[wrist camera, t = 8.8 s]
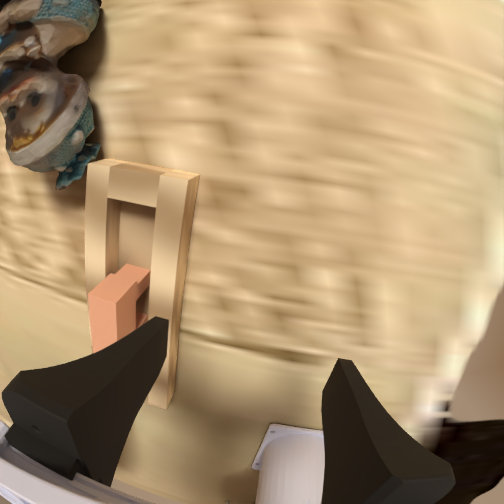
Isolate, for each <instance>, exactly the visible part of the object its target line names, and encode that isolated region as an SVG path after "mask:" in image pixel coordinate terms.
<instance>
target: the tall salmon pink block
mask: <svg viewBox="0 0 504 504" xmlns="http://www.w3.org/2000/svg"><path fill="white" fill-rule="evenodd" d="M150 272H151V270H148V269H145V268H141V267H137V266H133V265H130V264H125V265H124V266H123V267H122V268H121V269H120V270H119V271H118V272H117V273H116V274H112V273H110V274H109V275H108V276H107V277H106V278H105V279H103V280H102V281H101V282H100V283H99V284H98V285H97V286H96V287H95V288H94V289H93V290H92V291H90V292H89V293H88V303H89V315H90V326H91V336H92V345H93V353H96V352H98V351H100V350H102V349H104V348H106V347H108V346H109V345H111V344H113V343H115V342H116V341H118V340H120V339H122V338H123V337H125V336H126V335H128V334H129V333H131V332H133V331H134V330H136V329H137V328H139V327H140V326H141V325H143V324H144V323H146V322H147V321H148V315H147V314H144V313H140V312H137V311H136V300H137V299H138V298H139V297H140V295H141V294H142V293H143V292H144V291H145V289H146V288H147V287H148V286H149V285H150Z"/></svg>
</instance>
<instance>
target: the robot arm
mask: <svg viewBox="0 0 504 504" xmlns="http://www.w3.org/2000/svg"><path fill="white" fill-rule="evenodd" d="M168 329H169V320H168V319H164V318H161V317H157V316H155V317H153V318H152V319H150V320H149V321H147V322H146V323H144V324H143V325H141V326H140V327H139V328H137V329H136V330H134V331H133V332H131V333H129V334H128V335H126V336H125V337H123V338H122V339H120V340H118V341H116V342H115V343H113V344H111V345H109V346H108V347H106V348H104V349H102V350H100V351H98V352H96V353H93V354H91V355H89V356H86V357H83V358H80V359H77V360H74V361H71V362H68V363H65V364H61V365H57V366H53V367H48V368H42V369H34V370H26V371H20V372H19V373H18V374H17V375H16V376H15V378H14V379H13V380H12V381H11V382H10V383H9V384H8V386H7V387H6V388H5V389H4V390H3V392H2V400H3V402H4V405H5V407H6V409H7V411H8V413H9V415H10V417H11V419H12V421H13V423H14V424H13V425H12V426H11V428H9V427H8V426H7V425H6V424H5V423H4V422H3V421H1V420H0V495H1V496H3V497H4V498H5V499H7V500H8V501H10V502H11V503H12V504H154V503H151V502H148V501H145V500H142V499H139V498H137V497H134V496H131V495H128V494H125V493H123V492H121V491H118V490H115V489H113V488H111V484H112V480H113V477H114V474H115V470H116V467H117V464H118V462H119V459H120V456H121V453H122V450H123V447H124V445H125V442H126V439H127V437H128V434H129V432H130V429H131V427H132V424H133V422H134V420H135V418H136V416H137V414H138V412H139V410H140V408H141V406H142V404H143V403H144V401H145V399H146V397H147V396H148V394H149V392H150V390H151V389H152V387H153V385H154V383H155V381H156V380H157V378H158V376H159V374H160V372H161V369H162V367H163V364H164V362H165V359H166V357H167V344H168ZM322 425H323V431H321V430H314V429H306V428H299V427H293V426H286V425H280V424H270V425H269V427H268V430H267V432H266V434H265V437H264V439H263V441H262V444H261V446H260V448H259V450H258V452H257V455H256V457H255V459H254V461H253V464H252V469H254V470H260V473H259V480H258V487H257V495H256V502H255V504H434V503H436V502H437V501H438V500H439V499H441V498H442V497H443V496H445V495H446V494H447V493H448V492H449V491H450V490H451V489H452V488H453V486H454V485H455V478H454V474H453V471H452V467H451V464H450V463H448V462H446V461H445V460H443V459H441V458H440V457H438V456H436V455H435V454H433V453H432V452H430V451H429V450H427V449H426V448H425V447H423V446H422V445H421V444H419V443H418V442H417V441H416V440H414V439H413V438H412V437H411V436H410V435H409V434H408V433H407V432H405V431H404V430H403V429H402V428H401V427H400V426H399V425H398V424H397V422H396V421H395V420H394V419H393V418H392V417H391V416H390V415H389V414H388V412H387V411H386V410H385V409H384V407H383V406H382V405H381V403H380V402H379V401H378V399H377V398H376V397H375V395H374V394H373V392H372V391H371V389H370V388H369V386H368V385H367V383H366V382H365V380H364V379H363V377H362V376H361V374H360V372H359V371H358V369H357V368H356V366H355V365H354V363H353V362H352V360H346V359H340V358H338V360H337V362H336V364H335V366H334V368H333V371H332V373H331V375H330V377H329V379H328V381H327V383H326V385H325V387H324V389H323V392H322Z"/></svg>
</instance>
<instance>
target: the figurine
mask: <svg viewBox="0 0 504 504" xmlns="http://www.w3.org/2000/svg"><path fill="white" fill-rule="evenodd" d="M101 3H102V1H101V0H0V111H1V112H2V115H3V117H4V119H5V124H6V134H5V138H6V150H7V152H8V154H9V157H10V160H11V161H12V162H13V164H15V165H18V166H23V167H26V168H29V169H30V170H32V171H34V172H48V171H52V170H57V171H59V176H58V178H57V182H56V188H57V189H59V190H61V189H65V188H66V186H69V185H70V184H71V183H72V182H73V181H75V180H79V179H80V178H81V177H82V175H83V174H84V171H85V168H86V166H87V164H88V162H89V161H91V160H94V159H96V157H97V153H98V151H99V149H100V144H99V143H90V144H86V143H85V140H86V138H87V137H88V136H89V135H90V133H91V132H92V131H93V129H94V128H95V126H94V122H93V109H92V105H91V103H90V101H89V98H88V94H89V91H90V89H89V86H88V83H87V82H85V81H84V80H83V78H82V77H81V76H80V75H77V74H65V73H64V72H62V71H61V70H60V69H59V68H58V66H57V63H58V60H59V59H60V57H62V56H63V55H64V54H65V53H66V52H67V51H69V50H70V49H72V48H73V47H75V46H76V45H79V44H81V43H83V42H85V41H86V40H87V39H88V38H89V36H90V33H91V32H92V31H93V30H94V28H95V27H96V25H97V22H98V17H99V9H100V6H101Z"/></svg>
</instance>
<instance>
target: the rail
mask: <svg viewBox="0 0 504 504" xmlns="http://www.w3.org/2000/svg"><path fill="white" fill-rule="evenodd" d="M199 176H200V174H196V173H191V172H186V171H180V170H175V169H169V168H163V167H157V166H152V165H146V164H139V163H133V162H127V161H120V160H114V159H103V160H99V161H95V162H91V163H88V167H87V182H86V202H85V270H86V290H87V305H88V317H89V327H90V336H91V326H90V315H89V303H88V293H89V292H90V291H92V290H93V289H94V288H95V287H96V286H97V285H98V284H99V283H100V282H101V281H102V280H103V279H105V278H106V277H107V276H108V275H109V274H110V273H112V274H116V273H117V272H118V271H119V270H120V269H121V268H122V267H123V266H124V265H125V264H130V265H133V266H137V267H141V268H145V269H148V270H151V272H150V285H149V286H148V287H147V288H146V289H145V291H144V292H143V293H142V294H141V295H140V297H139V298H138V299H137V300H136V311H137V312H140V313H144V314H147V315H148V321H149V320H150V319H152V318H153V317H155V316H157V317H161V318H164V319H168V320H169V329H168V344H167V357H166V359H165V362H164V364H163V367H162V369H161V372H160V374H159V376H158V378H157V380H156V381H155V383H154V385H153V387H152V389H151V390H150V392H149V394H148V396H147V397H146V399H145V401H144V403H146V404H149V405H152V406H155V407H159V408H162V409H165V410H167V408H168V406H169V403H170V401H171V399H172V396H173V394H174V391H175V377H176V364H177V352H178V340H179V329H180V319H181V309H182V300H183V291H184V282H185V274H186V266H187V258H188V250H189V243H190V235H191V228H192V221H193V214H194V207H195V201H196V194H197V188H198V182H199ZM91 345H92V336H91ZM92 352H93V345H92Z"/></svg>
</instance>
